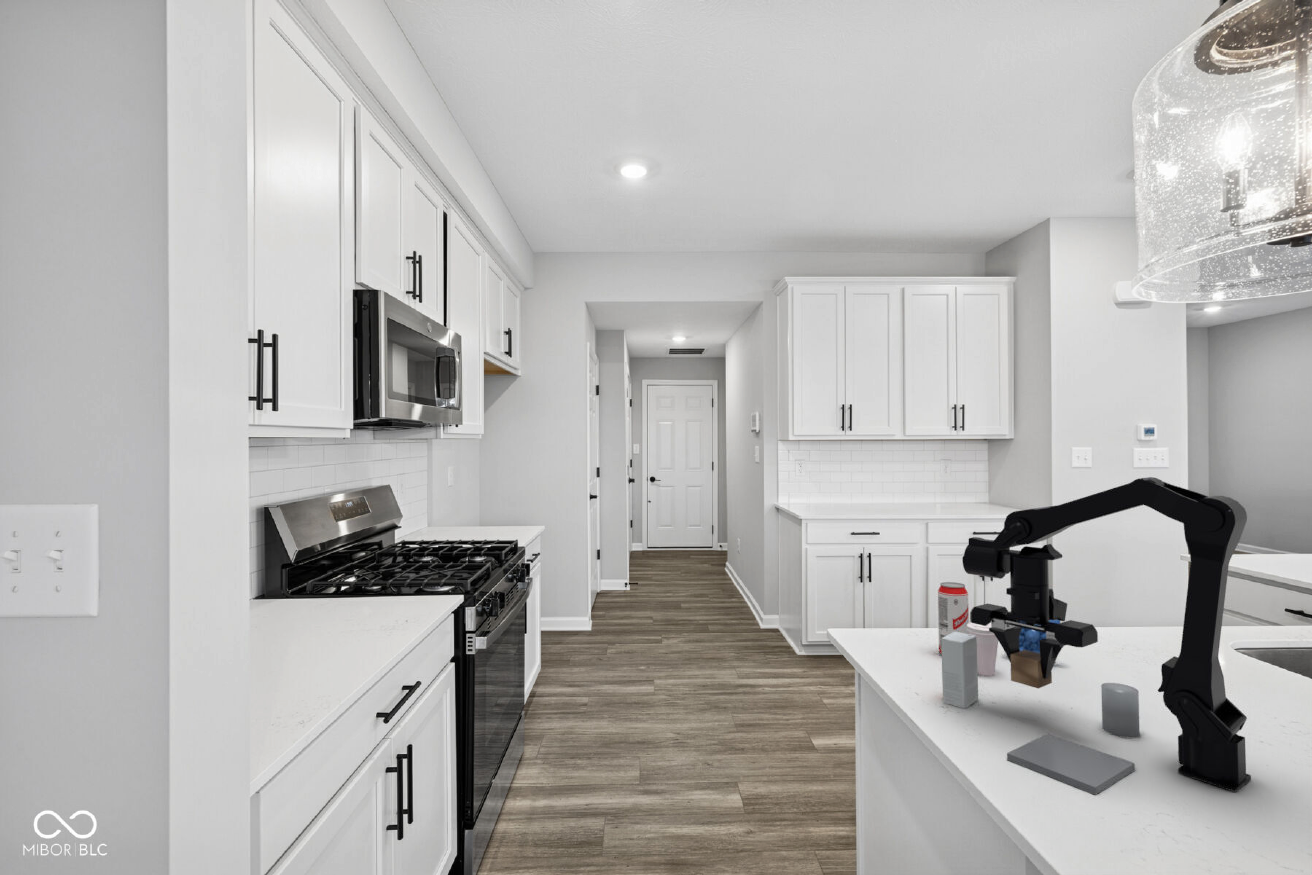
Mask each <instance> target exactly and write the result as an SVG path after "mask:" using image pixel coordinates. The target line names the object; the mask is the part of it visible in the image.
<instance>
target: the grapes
mask: <svg viewBox="0 0 1312 875" xmlns="http://www.w3.org/2000/svg"><path fill="white" fill-rule="evenodd" d="M1019 622H1023V621H1019ZM1049 622H1052V623H1057V624H1060V623H1061V621H1059V620H1049ZM1023 623H1026V622H1023ZM1034 625H1037V624H1034ZM1037 626H1041V625H1037ZM1043 639H1046V633H1045V632H1040V631H1036V630H1031V629H1027V628H1022V629H1021V633H1020V636H1019V648H1020V651H1022V650H1028V651H1032V652H1036V653H1040V645H1039V641H1040V640H1043Z"/></svg>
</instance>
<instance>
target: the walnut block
mask: <svg viewBox="0 0 1312 875" xmlns="http://www.w3.org/2000/svg"><path fill="white" fill-rule="evenodd" d="M1052 677H1053V676H1052V671H1051V673H1050V676H1049V678H1047V679H1044V678H1043V675H1042V670H1041V658H1040V653H1036V652H1032V651H1028V650H1022V651H1019V652H1016V653H1013V654H1011V663H1010V681H1012V682H1015V683H1018V684H1022V685H1025V686H1028V687H1031V688H1036V689H1041V688H1043V687H1046V686H1049V685H1050V684H1052V683H1053V678H1052Z"/></svg>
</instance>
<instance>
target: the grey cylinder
mask: <svg viewBox="0 0 1312 875" xmlns="http://www.w3.org/2000/svg"><path fill="white" fill-rule="evenodd" d="M1100 690H1101V692H1100V693H1101V723H1102V727H1101V728H1102V729H1104V730H1103V731H1104V732H1106V733H1108V734H1110V735H1113V736H1118V737H1120V738H1126V737H1130V738H1129V739H1132V738H1131V737H1135V738H1138V737H1140V734H1141V733H1140V704H1139V703H1140V702H1139V701H1140V700H1139V699H1140V693H1139V690H1138V689H1137V688H1135V687H1133V686H1130V685H1128V684H1124V683H1123V684H1122V683H1116V682H1105V683H1101V689H1100Z"/></svg>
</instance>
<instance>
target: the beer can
mask: <svg viewBox="0 0 1312 875" xmlns="http://www.w3.org/2000/svg"><path fill="white" fill-rule="evenodd" d="M937 612H938V613H937V616H938V617H937V619H938V620H937V621H938V623H937V624H938V628H937V630H938V651H939V654H940V655H942V650H941V638H943V637H945V636H947V635H949V634H951V633H953V632H960V633H965V634H969V632H968V630H967V624H968V623H970V620H969V619H970V613H969V593H968V591H967V588H966V585H965V583H960V582H953V581H951V582H950V581H945V582H940V586H939V587H938V589H937Z"/></svg>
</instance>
